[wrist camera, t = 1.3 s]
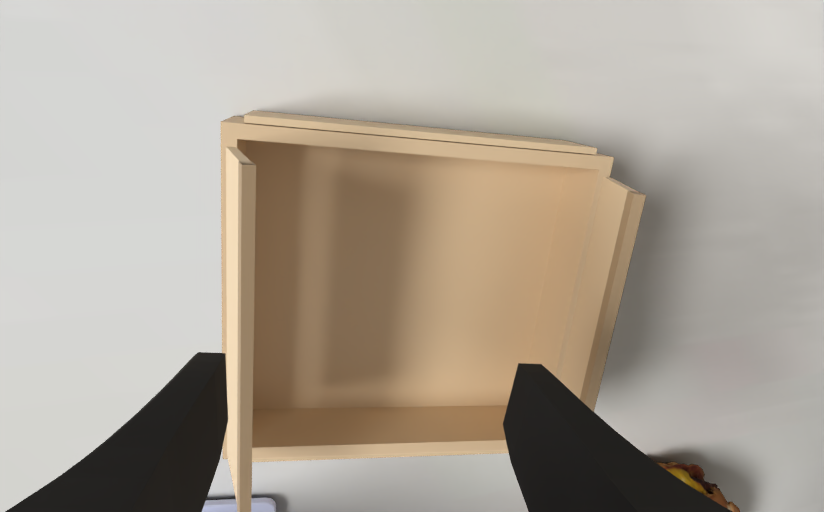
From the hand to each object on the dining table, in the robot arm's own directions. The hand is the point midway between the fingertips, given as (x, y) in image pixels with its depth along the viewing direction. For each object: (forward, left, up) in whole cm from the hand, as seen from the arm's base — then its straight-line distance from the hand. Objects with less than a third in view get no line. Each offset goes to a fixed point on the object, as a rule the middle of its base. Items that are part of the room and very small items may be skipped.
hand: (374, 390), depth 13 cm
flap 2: (-1, -9, -7) cm, 11 cm away
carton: (-1, -2, -10) cm, 10 cm away
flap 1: (-1, +4, -7) cm, 8 cm away
